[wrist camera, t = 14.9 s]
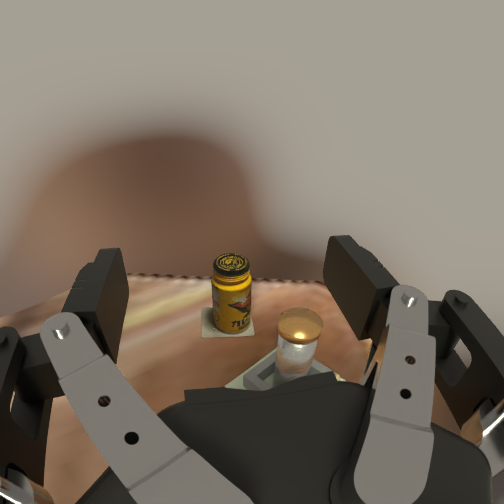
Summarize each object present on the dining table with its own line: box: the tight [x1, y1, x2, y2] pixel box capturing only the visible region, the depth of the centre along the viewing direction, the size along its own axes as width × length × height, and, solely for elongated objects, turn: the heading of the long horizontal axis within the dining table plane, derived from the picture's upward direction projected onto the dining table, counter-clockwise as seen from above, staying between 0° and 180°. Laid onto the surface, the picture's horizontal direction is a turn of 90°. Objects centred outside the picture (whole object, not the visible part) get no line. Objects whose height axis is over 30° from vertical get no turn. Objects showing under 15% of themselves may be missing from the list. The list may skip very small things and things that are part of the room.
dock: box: [225, 348, 345, 391], centre depth 37 cm, size 12×12×4 cm
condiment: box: [202, 253, 255, 338], centre depth 47 cm, size 7×8×12 cm
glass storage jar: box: [273, 308, 323, 387], centre depth 34 cm, size 5×5×12 cm
